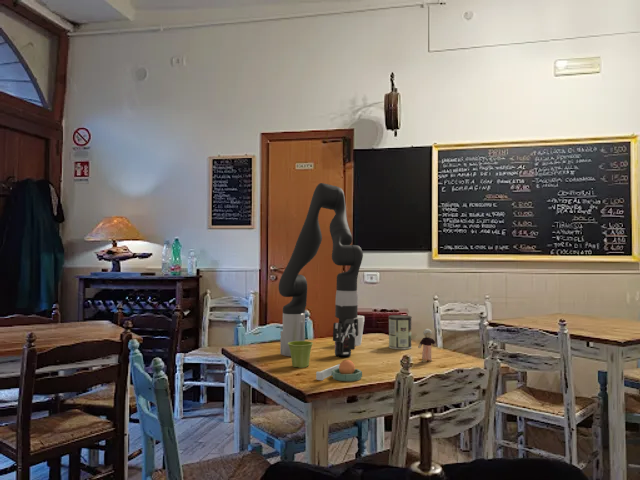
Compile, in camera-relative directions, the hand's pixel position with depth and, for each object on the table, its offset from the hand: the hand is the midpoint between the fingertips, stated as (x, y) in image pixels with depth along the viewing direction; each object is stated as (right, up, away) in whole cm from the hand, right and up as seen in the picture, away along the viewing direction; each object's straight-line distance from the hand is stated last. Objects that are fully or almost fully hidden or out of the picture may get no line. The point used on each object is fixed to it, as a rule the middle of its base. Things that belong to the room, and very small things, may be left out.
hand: (345, 351), depth 172 cm
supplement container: (+1, -10, +36) cm, 38 cm away
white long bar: (-4, -9, +5) cm, 11 cm away
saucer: (0, -9, 0) cm, 9 cm away
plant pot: (-16, -10, +17) cm, 25 cm away
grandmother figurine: (+34, -10, +28) cm, 45 cm away
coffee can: (+27, -11, +57) cm, 64 cm away
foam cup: (+7, -11, +64) cm, 65 cm away
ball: (0, -6, 0) cm, 6 cm away
